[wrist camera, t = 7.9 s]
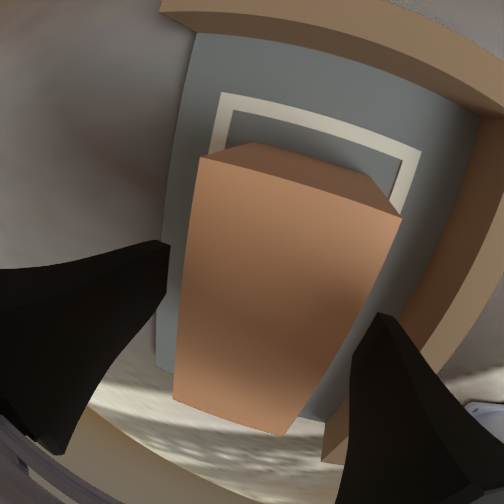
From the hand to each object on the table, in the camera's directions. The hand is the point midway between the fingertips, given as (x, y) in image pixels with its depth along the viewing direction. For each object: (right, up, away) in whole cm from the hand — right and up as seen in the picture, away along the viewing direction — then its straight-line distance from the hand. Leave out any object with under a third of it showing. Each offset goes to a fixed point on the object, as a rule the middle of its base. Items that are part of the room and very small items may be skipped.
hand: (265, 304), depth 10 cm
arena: (+2, +1, +3) cm, 4 cm away
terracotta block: (+1, +1, +3) cm, 3 cm away
